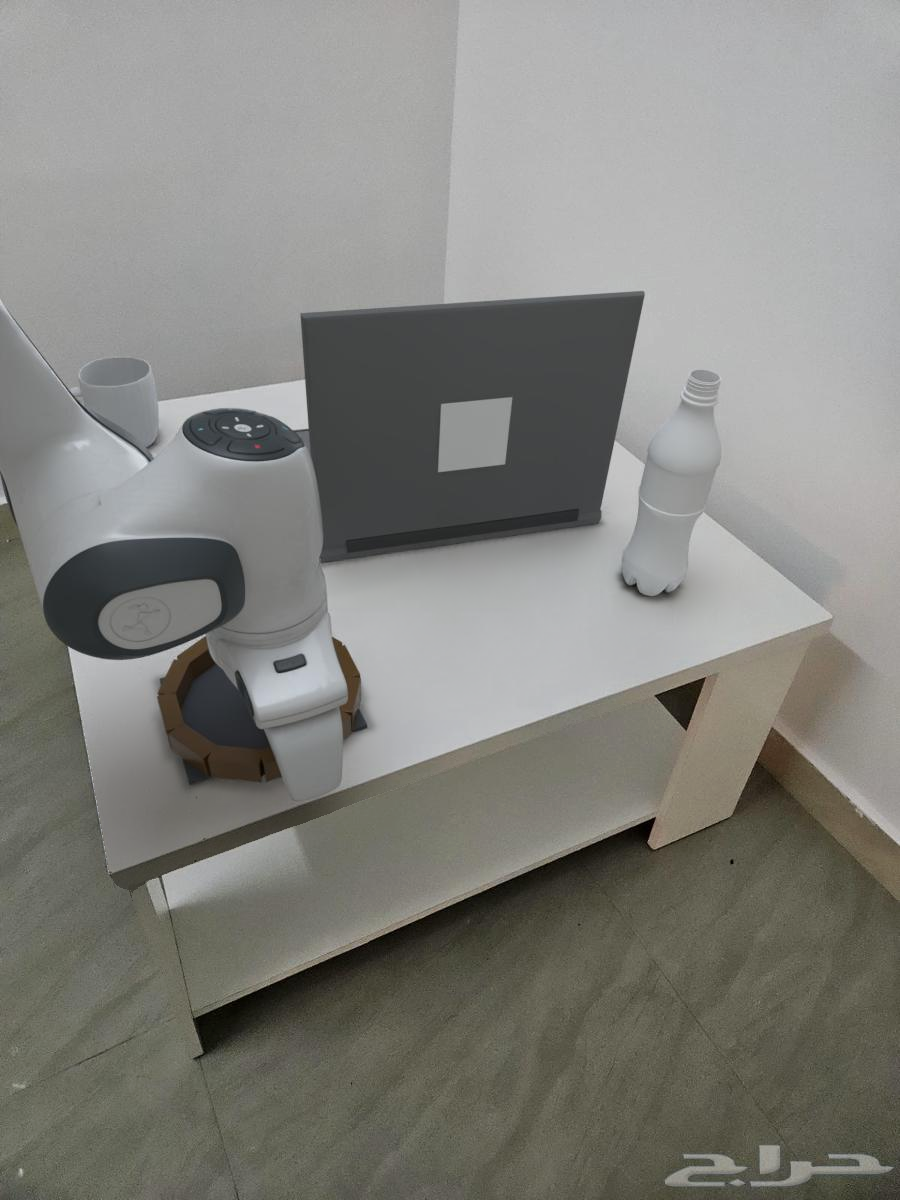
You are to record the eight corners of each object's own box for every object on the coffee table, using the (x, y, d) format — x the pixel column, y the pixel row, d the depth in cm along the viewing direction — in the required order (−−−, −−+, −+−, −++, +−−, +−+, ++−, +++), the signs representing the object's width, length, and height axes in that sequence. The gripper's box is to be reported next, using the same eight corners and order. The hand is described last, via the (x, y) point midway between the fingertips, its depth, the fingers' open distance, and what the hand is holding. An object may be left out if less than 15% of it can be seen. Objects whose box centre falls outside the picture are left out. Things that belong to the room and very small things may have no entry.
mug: (161, 420, 115) (147, 352, 108) (169, 451, 108) (155, 381, 102) (64, 432, 111) (44, 363, 104) (67, 466, 105) (45, 394, 98)
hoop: (186, 808, 67) (181, 790, 65) (148, 665, 78) (144, 647, 77) (387, 742, 73) (387, 725, 71) (324, 619, 85) (323, 602, 83)
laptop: (522, 417, 120) (546, 213, 102) (600, 523, 101) (647, 294, 82) (284, 441, 112) (264, 223, 93) (319, 563, 92) (302, 317, 74)
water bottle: (604, 577, 93) (650, 371, 76) (644, 554, 96) (696, 353, 80) (654, 611, 89) (714, 401, 72) (693, 585, 92) (759, 380, 76)
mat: (189, 785, 69) (189, 782, 69) (160, 681, 77) (159, 678, 77) (367, 727, 74) (367, 724, 74) (321, 636, 83) (321, 634, 83)
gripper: (192, 550, 65) (215, 671, 74) (263, 733, 52) (281, 854, 61) (269, 533, 67) (283, 652, 77) (357, 704, 54) (361, 825, 63)
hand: (283, 743), depth 68 cm, fingers open, 8 cm apart
